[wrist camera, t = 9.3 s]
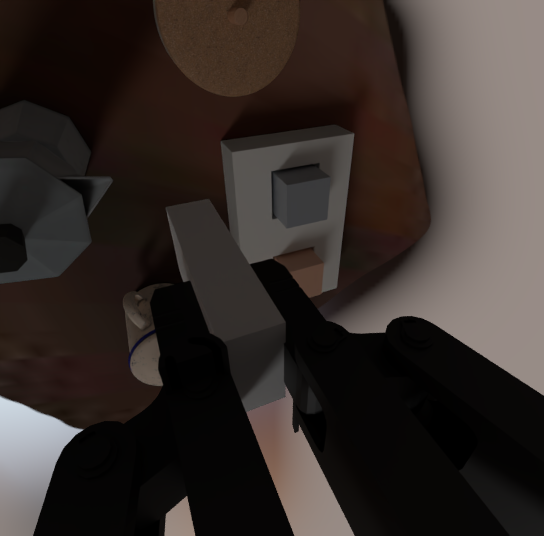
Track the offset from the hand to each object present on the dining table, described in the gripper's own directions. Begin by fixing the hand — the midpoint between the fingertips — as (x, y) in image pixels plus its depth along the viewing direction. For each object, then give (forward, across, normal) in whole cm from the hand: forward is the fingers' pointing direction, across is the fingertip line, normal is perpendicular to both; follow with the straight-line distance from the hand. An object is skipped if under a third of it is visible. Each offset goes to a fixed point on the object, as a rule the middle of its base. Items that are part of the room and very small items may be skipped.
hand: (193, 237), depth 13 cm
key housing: (+26, +15, -16) cm, 34 cm away
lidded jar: (+27, +8, +6) cm, 29 cm away
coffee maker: (+27, -10, -4) cm, 29 cm away
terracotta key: (+24, +15, -21) cm, 35 cm away
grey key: (+24, +15, -10) cm, 30 cm away
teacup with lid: (+27, -3, -24) cm, 36 cm away
